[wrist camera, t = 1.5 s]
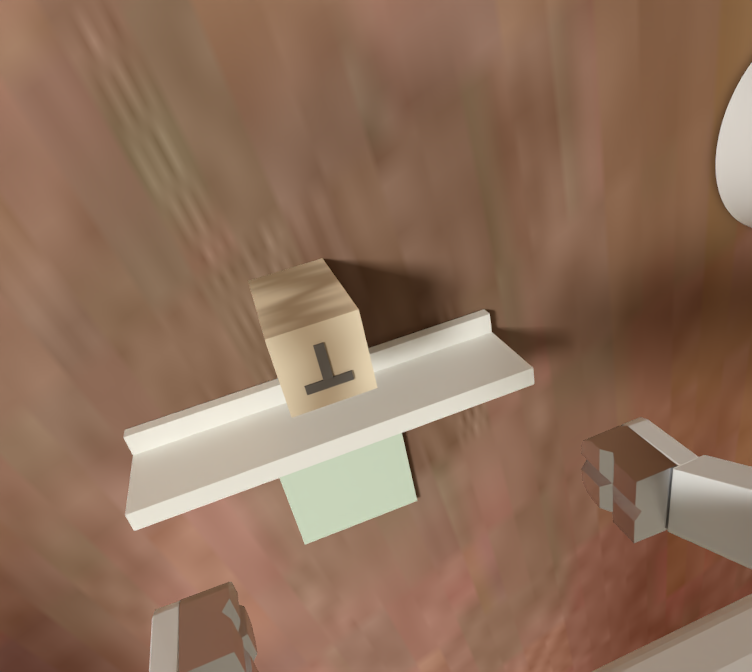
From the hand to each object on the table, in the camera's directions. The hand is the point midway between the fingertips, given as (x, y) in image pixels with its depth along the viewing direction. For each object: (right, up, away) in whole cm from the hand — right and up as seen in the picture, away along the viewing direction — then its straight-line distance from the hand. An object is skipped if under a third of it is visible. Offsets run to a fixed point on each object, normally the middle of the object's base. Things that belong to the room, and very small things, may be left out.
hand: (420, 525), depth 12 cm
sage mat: (-3, -6, +28) cm, 29 cm away
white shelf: (-5, +1, +24) cm, 25 cm away
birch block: (-6, +6, +21) cm, 23 cm away
